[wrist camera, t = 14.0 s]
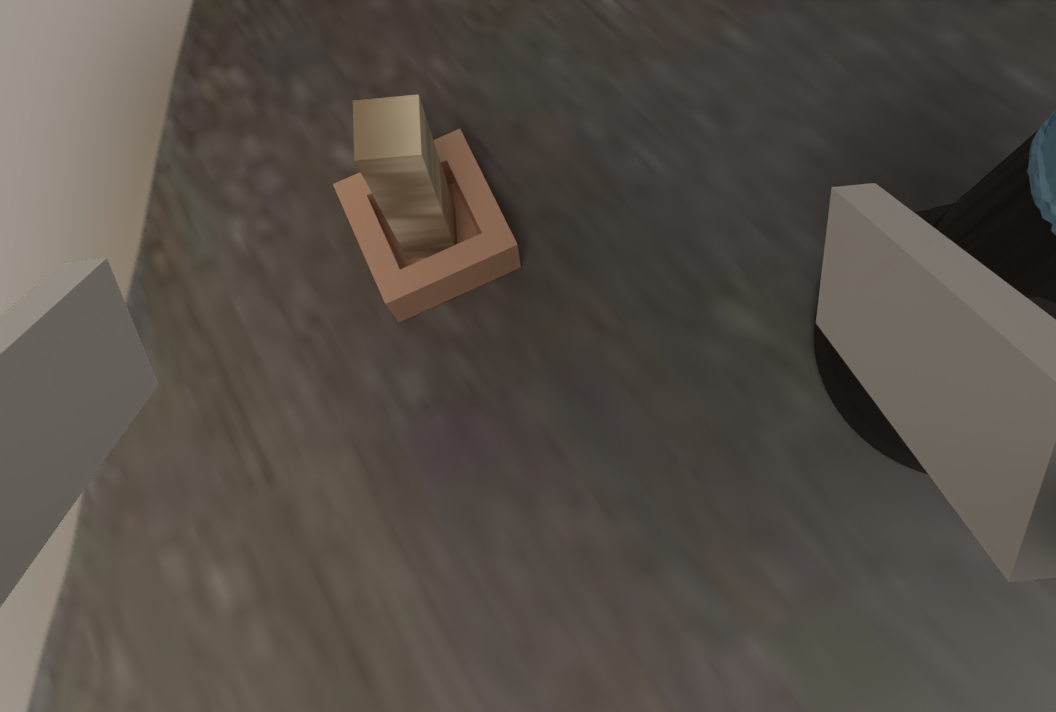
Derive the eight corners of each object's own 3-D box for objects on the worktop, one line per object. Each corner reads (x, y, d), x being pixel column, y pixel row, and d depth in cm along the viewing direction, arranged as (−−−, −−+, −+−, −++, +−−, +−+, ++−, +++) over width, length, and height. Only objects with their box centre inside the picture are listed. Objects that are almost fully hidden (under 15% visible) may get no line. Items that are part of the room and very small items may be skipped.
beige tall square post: (455, 208, 46) (418, 94, 34) (457, 254, 45) (421, 154, 34) (405, 212, 46) (352, 100, 34) (407, 259, 45) (354, 160, 34)
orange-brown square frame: (467, 159, 48) (460, 128, 44) (521, 267, 46) (517, 244, 42) (349, 210, 47) (333, 184, 44) (398, 322, 45) (385, 304, 42)
